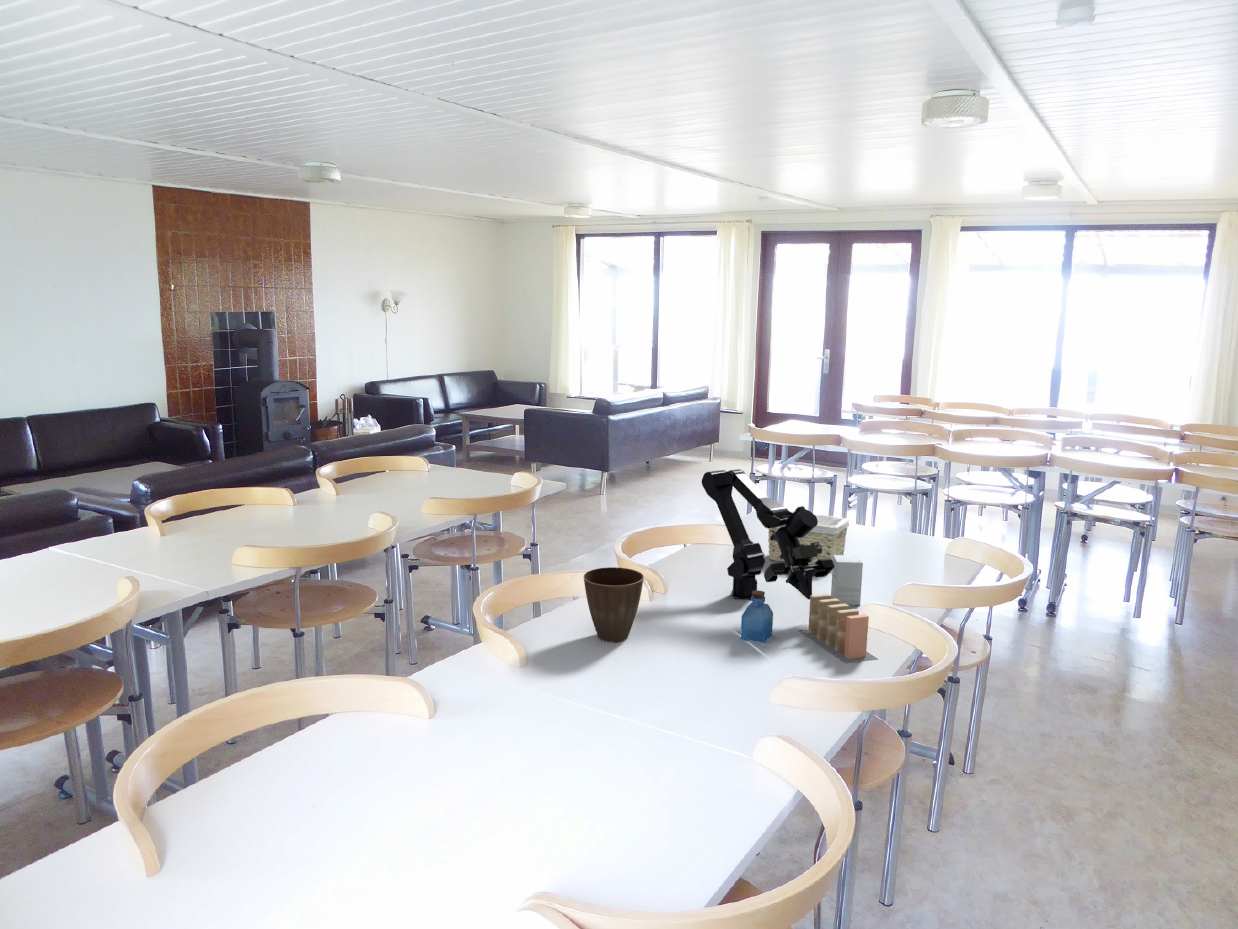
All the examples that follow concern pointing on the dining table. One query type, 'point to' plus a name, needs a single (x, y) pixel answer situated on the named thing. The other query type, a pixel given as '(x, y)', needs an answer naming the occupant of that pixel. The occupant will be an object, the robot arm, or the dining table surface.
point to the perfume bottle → (757, 619)
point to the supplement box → (847, 579)
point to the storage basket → (818, 538)
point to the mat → (832, 650)
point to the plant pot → (613, 600)
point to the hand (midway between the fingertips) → (810, 598)
